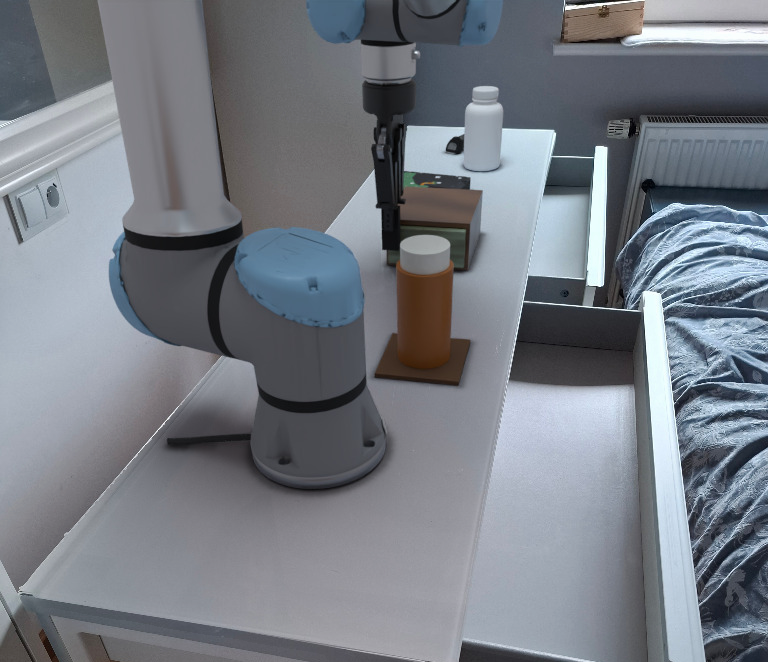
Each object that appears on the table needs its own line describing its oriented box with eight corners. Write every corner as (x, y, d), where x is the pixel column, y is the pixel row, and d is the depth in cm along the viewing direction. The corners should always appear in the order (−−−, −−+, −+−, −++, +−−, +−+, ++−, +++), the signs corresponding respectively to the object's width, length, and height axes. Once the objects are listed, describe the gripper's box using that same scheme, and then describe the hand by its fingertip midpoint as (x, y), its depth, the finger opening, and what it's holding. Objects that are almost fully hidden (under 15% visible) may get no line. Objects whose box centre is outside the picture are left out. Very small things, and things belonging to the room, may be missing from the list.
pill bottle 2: (487, 158, 160) (492, 82, 150) (506, 168, 155) (512, 90, 145) (456, 164, 158) (459, 87, 148) (474, 174, 152) (478, 94, 142)
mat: (458, 385, 91) (458, 381, 90) (374, 377, 93) (374, 373, 93) (470, 343, 99) (470, 339, 98) (392, 336, 101) (392, 332, 100)
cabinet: (467, 270, 116) (470, 223, 111) (386, 265, 119) (385, 218, 114) (480, 234, 128) (482, 190, 123) (405, 230, 130) (405, 186, 125)
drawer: (459, 279, 112) (461, 242, 108) (382, 273, 114) (381, 237, 111) (475, 234, 126) (477, 199, 122) (406, 230, 128) (406, 196, 124)
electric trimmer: (493, 139, 172) (494, 124, 170) (457, 155, 163) (458, 139, 161) (479, 137, 174) (480, 122, 172) (444, 152, 165) (444, 137, 162)
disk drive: (470, 191, 145) (401, 183, 149) (471, 176, 143) (401, 169, 147) (456, 208, 138) (384, 200, 142) (456, 193, 136) (384, 185, 140)
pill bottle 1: (407, 373, 92) (406, 259, 82) (391, 347, 97) (388, 237, 87) (457, 363, 94) (463, 251, 84) (439, 339, 99) (442, 229, 89)
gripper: (405, 89, 93) (405, 266, 109) (424, 70, 103) (422, 235, 118) (350, 87, 95) (358, 262, 110) (373, 69, 104) (378, 232, 120)
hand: (391, 248), depth 114 cm, fingers closed
